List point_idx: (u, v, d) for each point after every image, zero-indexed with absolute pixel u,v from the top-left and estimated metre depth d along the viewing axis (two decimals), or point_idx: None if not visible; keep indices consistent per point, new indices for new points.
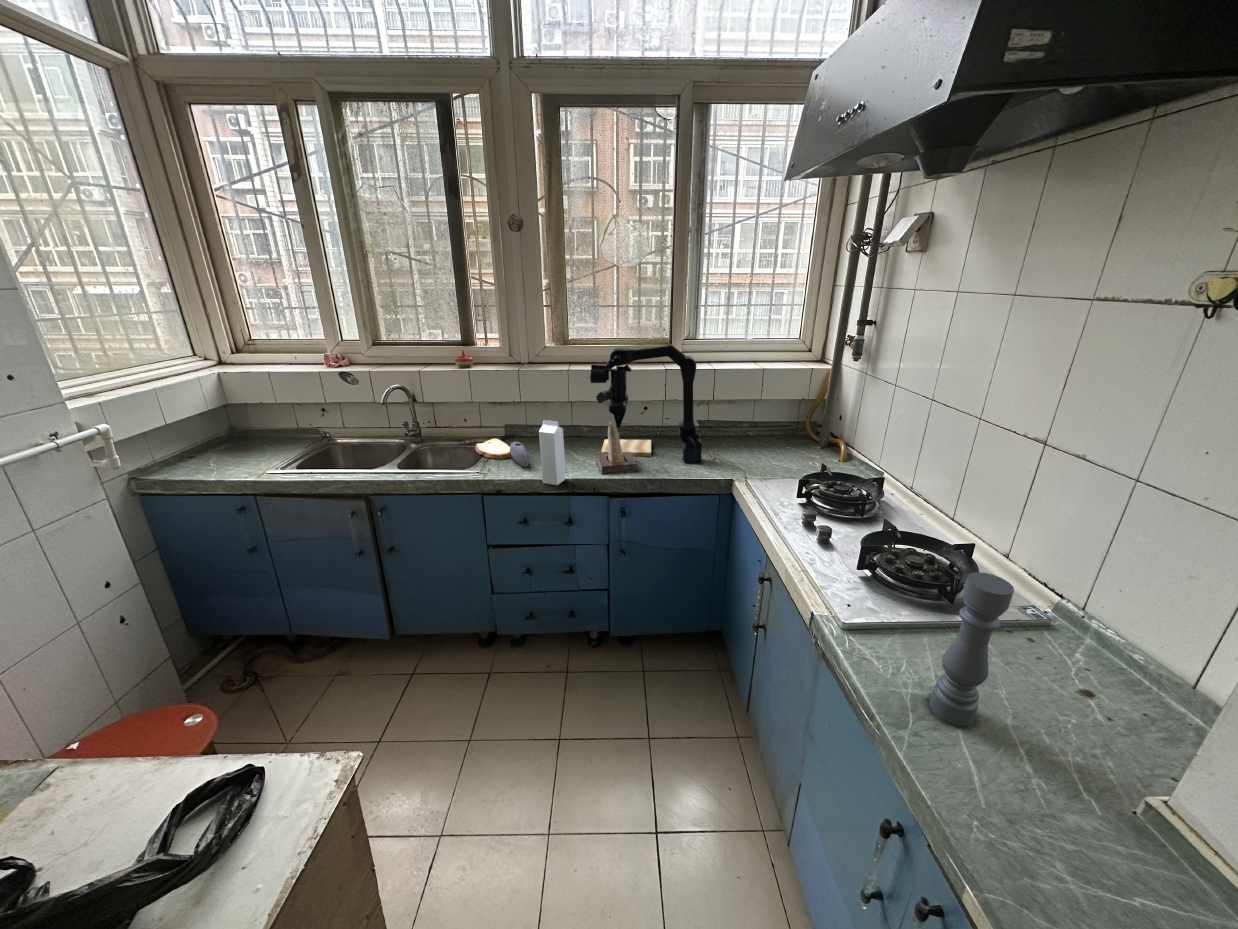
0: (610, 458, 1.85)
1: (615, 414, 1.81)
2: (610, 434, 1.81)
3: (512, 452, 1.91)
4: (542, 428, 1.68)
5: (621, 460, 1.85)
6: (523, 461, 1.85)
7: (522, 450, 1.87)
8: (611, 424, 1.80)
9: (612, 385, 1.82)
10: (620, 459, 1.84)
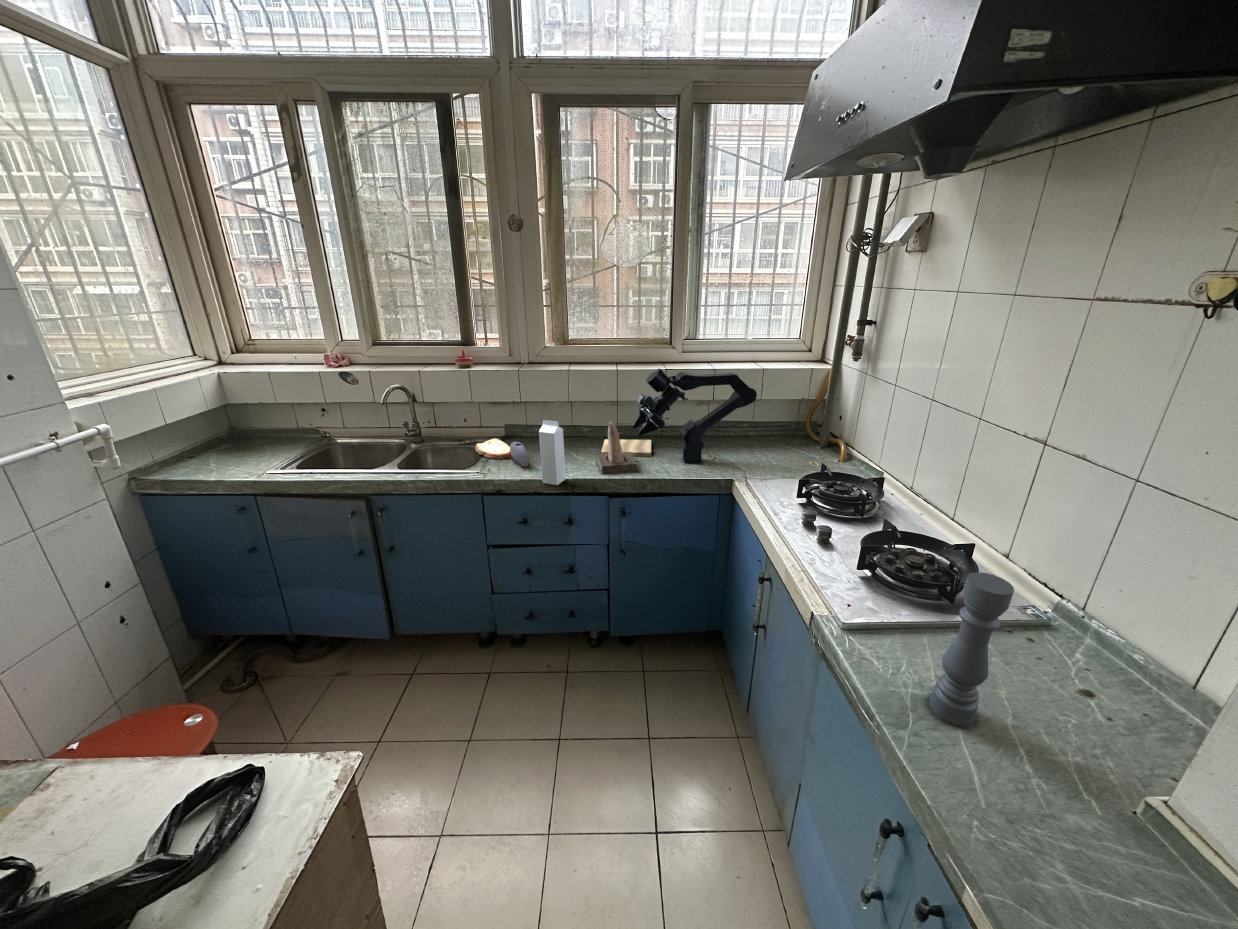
0: (610, 458, 1.85)
1: (648, 424, 1.77)
2: (610, 434, 1.81)
3: (512, 452, 1.91)
4: (542, 428, 1.68)
5: (621, 460, 1.85)
6: (523, 461, 1.85)
7: (522, 450, 1.87)
8: (611, 424, 1.80)
9: (661, 398, 1.80)
10: (620, 459, 1.84)
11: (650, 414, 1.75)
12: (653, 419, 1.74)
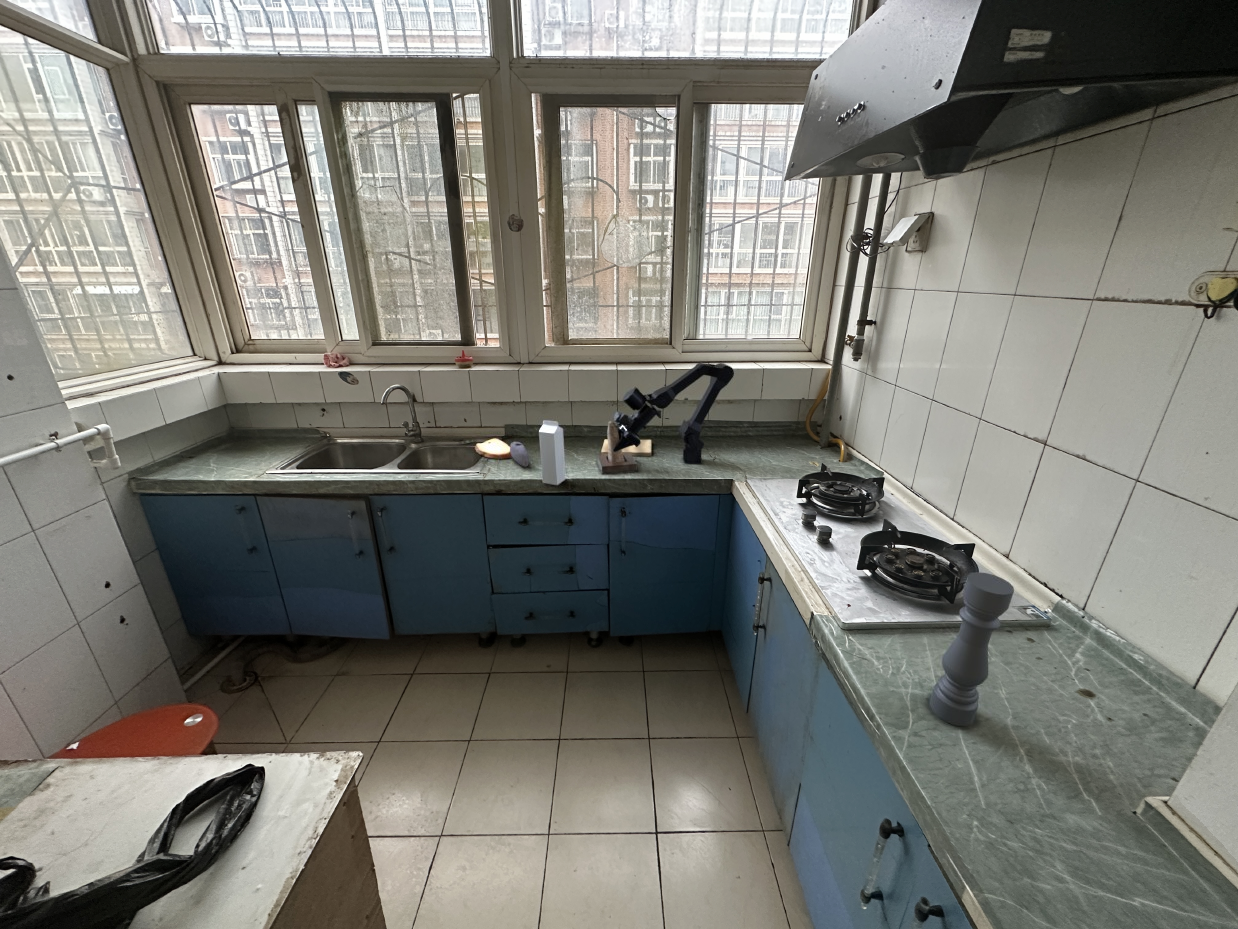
0: (610, 458, 1.85)
1: (622, 440, 1.80)
2: (610, 433, 1.82)
3: (512, 452, 1.91)
4: (542, 428, 1.68)
5: (621, 460, 1.85)
6: (523, 461, 1.85)
7: (522, 450, 1.87)
8: (610, 423, 1.81)
9: (637, 416, 1.80)
10: (620, 458, 1.84)
11: (626, 432, 1.76)
12: (629, 437, 1.75)
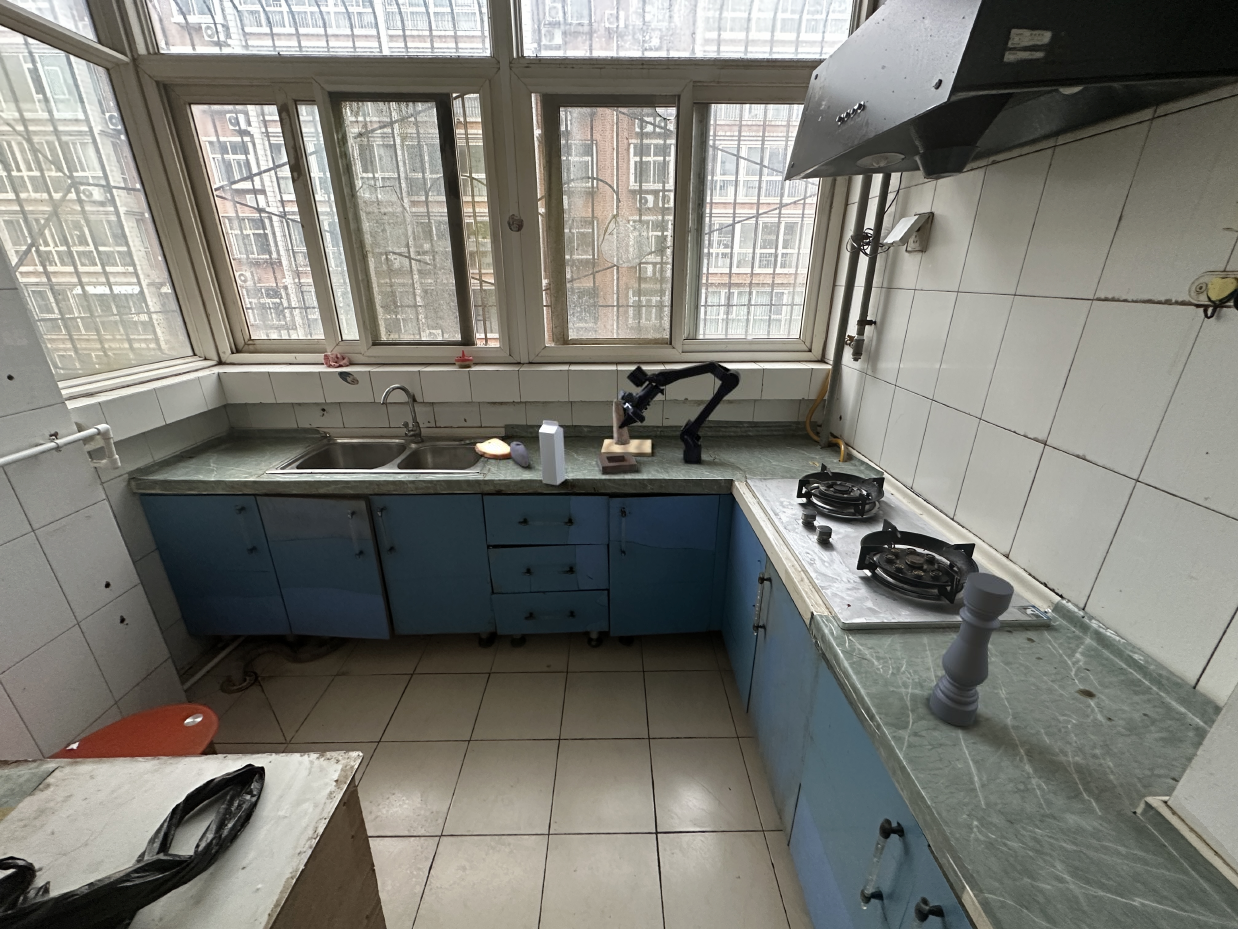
0: (615, 435, 1.91)
1: (627, 417, 1.86)
2: (615, 411, 1.87)
3: (512, 452, 1.91)
4: (542, 428, 1.68)
5: (626, 437, 1.90)
6: (523, 461, 1.85)
7: (522, 450, 1.87)
8: (616, 401, 1.86)
9: (642, 394, 1.86)
10: (625, 436, 1.90)
11: (631, 409, 1.81)
12: (634, 414, 1.80)
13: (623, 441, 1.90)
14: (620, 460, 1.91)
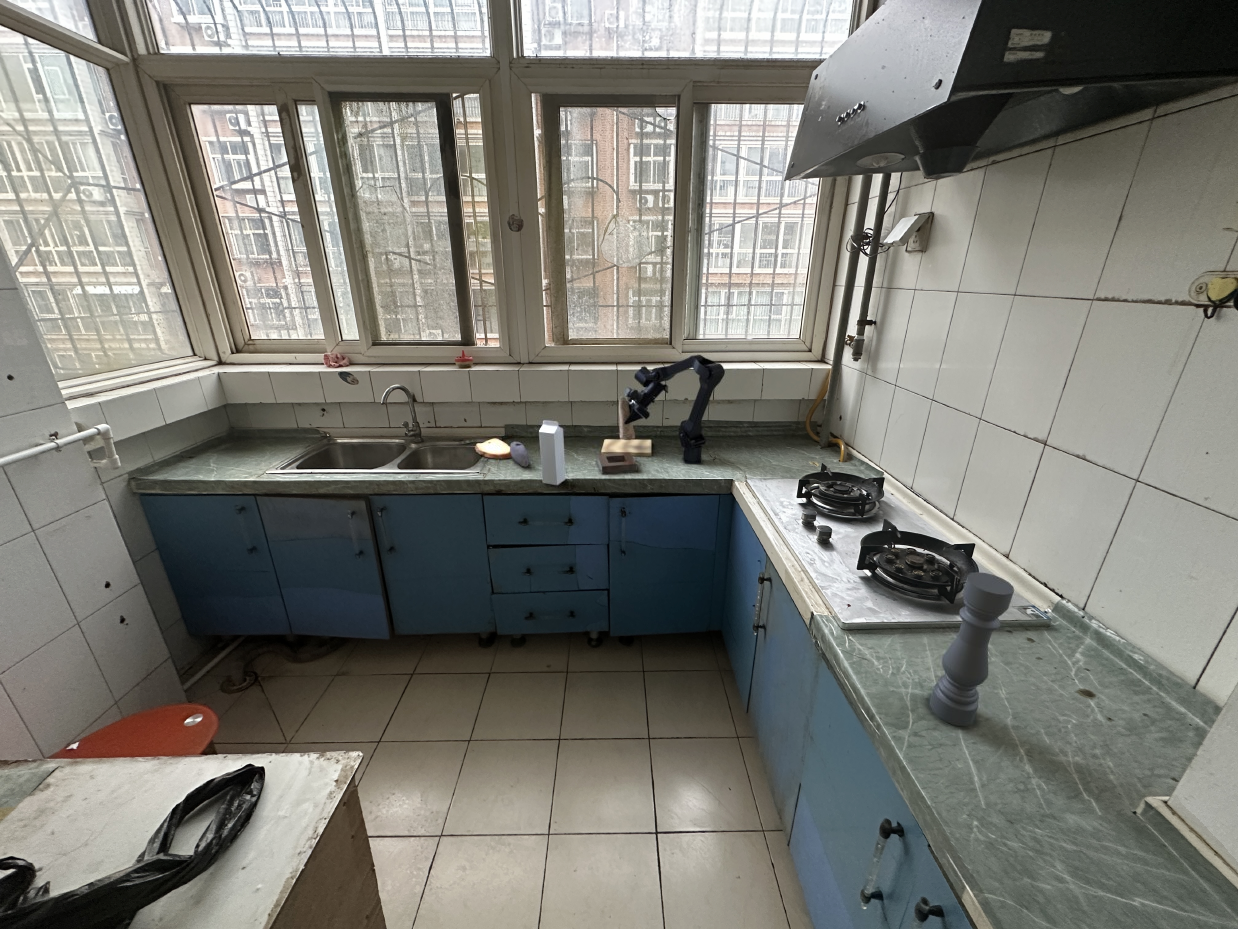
0: (621, 430, 2.01)
1: (633, 413, 1.96)
2: (621, 408, 1.97)
3: (512, 452, 1.91)
4: (542, 428, 1.68)
5: (631, 432, 2.01)
6: (523, 461, 1.85)
7: (522, 450, 1.87)
8: (622, 398, 1.97)
9: (646, 392, 1.96)
10: (630, 431, 2.00)
11: (636, 406, 1.92)
12: (639, 410, 1.90)
13: (628, 436, 2.00)
14: (620, 460, 1.91)
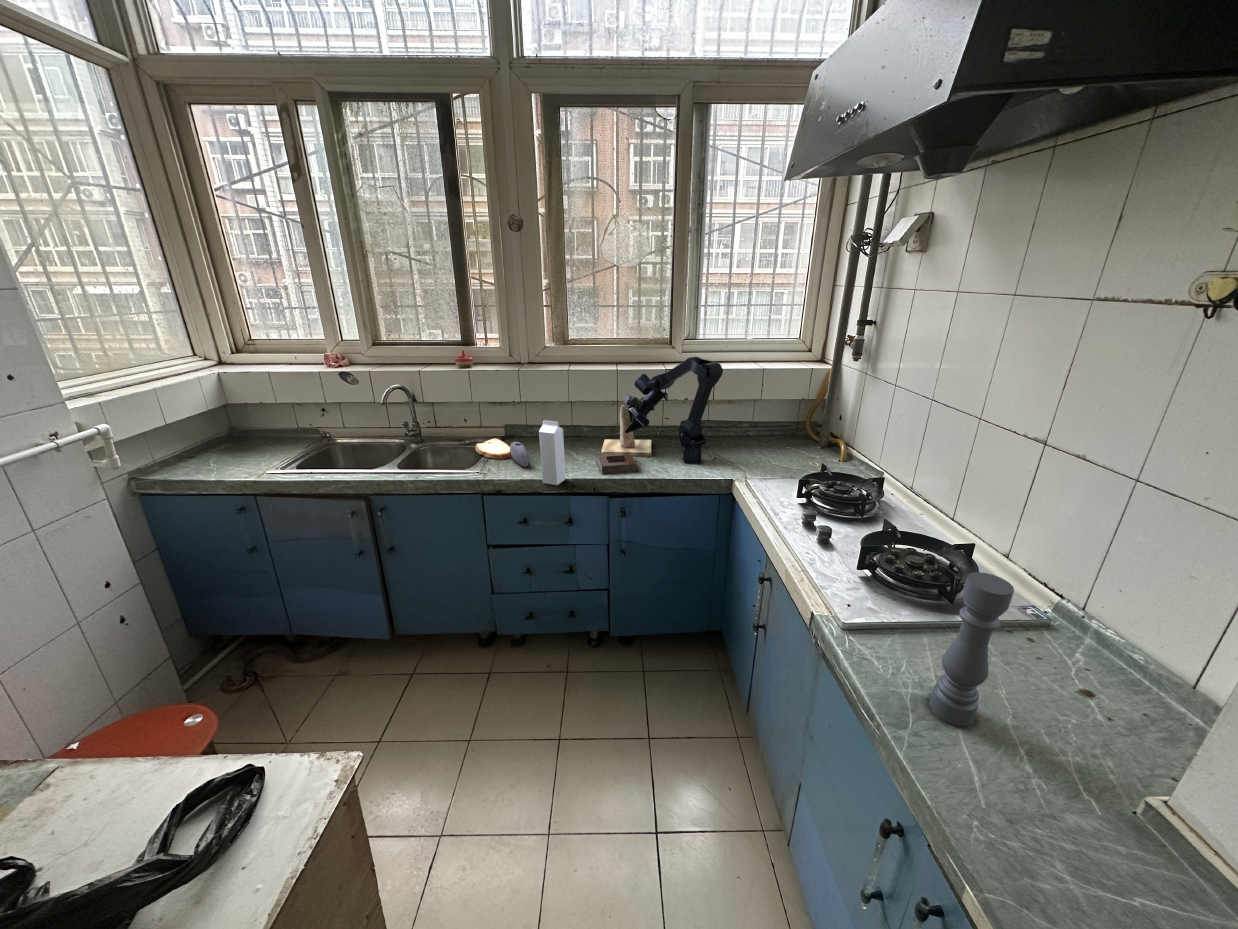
0: (622, 438, 2.02)
1: (634, 422, 1.95)
2: (622, 416, 1.98)
3: (512, 452, 1.91)
4: (542, 428, 1.68)
5: (632, 440, 2.02)
6: (523, 461, 1.85)
7: (522, 450, 1.87)
8: (623, 407, 1.97)
9: (646, 399, 1.97)
10: (631, 439, 2.01)
11: (636, 413, 1.93)
12: (638, 418, 1.92)
13: (628, 444, 2.01)
14: (620, 460, 1.91)
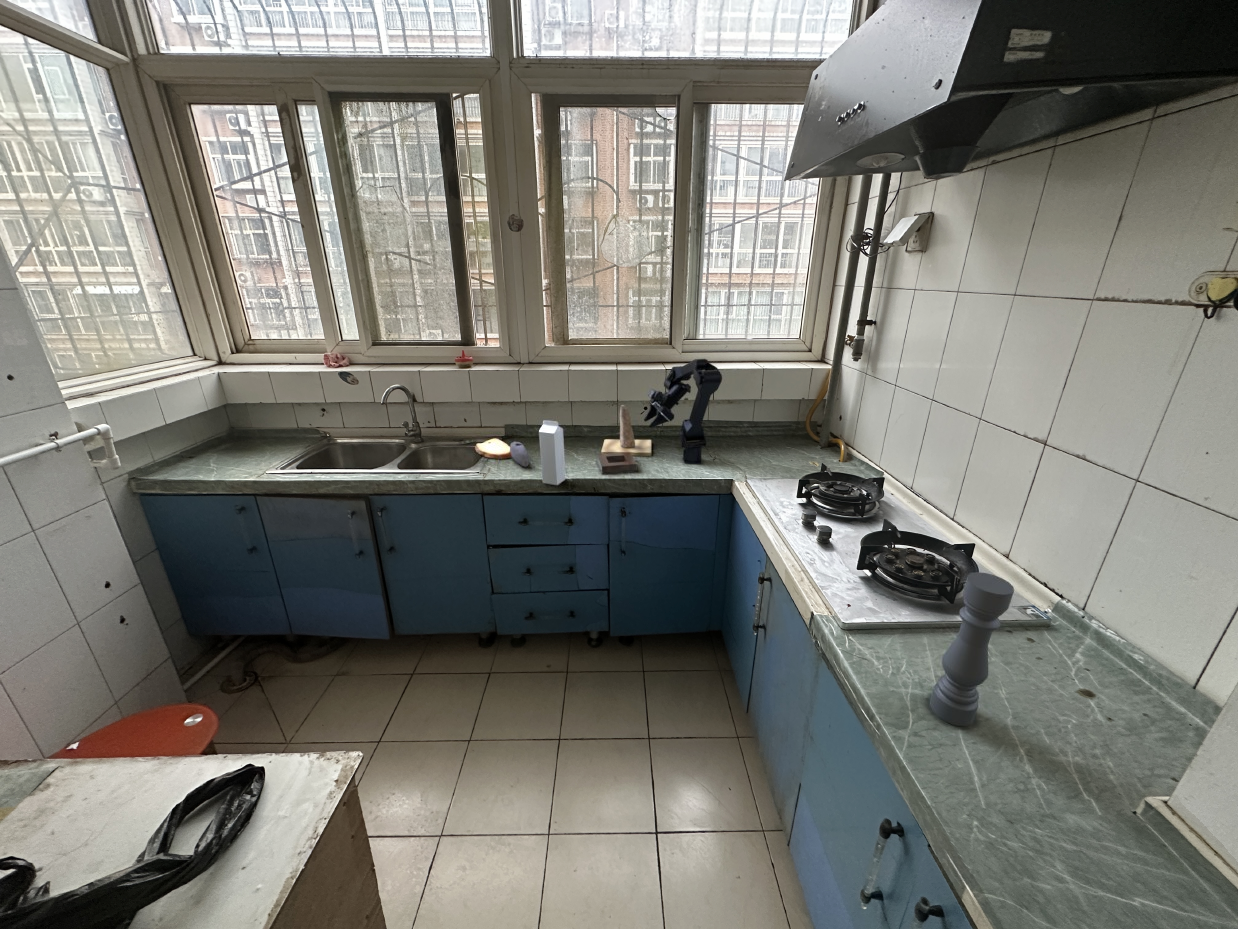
0: (622, 438, 2.02)
1: (658, 416, 1.93)
2: (622, 416, 1.98)
3: (512, 452, 1.91)
4: (542, 428, 1.68)
5: (632, 440, 2.02)
6: (523, 461, 1.85)
7: (522, 450, 1.87)
8: (623, 407, 1.97)
9: (670, 393, 1.96)
10: (631, 439, 2.01)
11: (661, 408, 1.91)
12: (663, 412, 1.90)
13: (628, 444, 2.01)
14: (620, 460, 1.91)
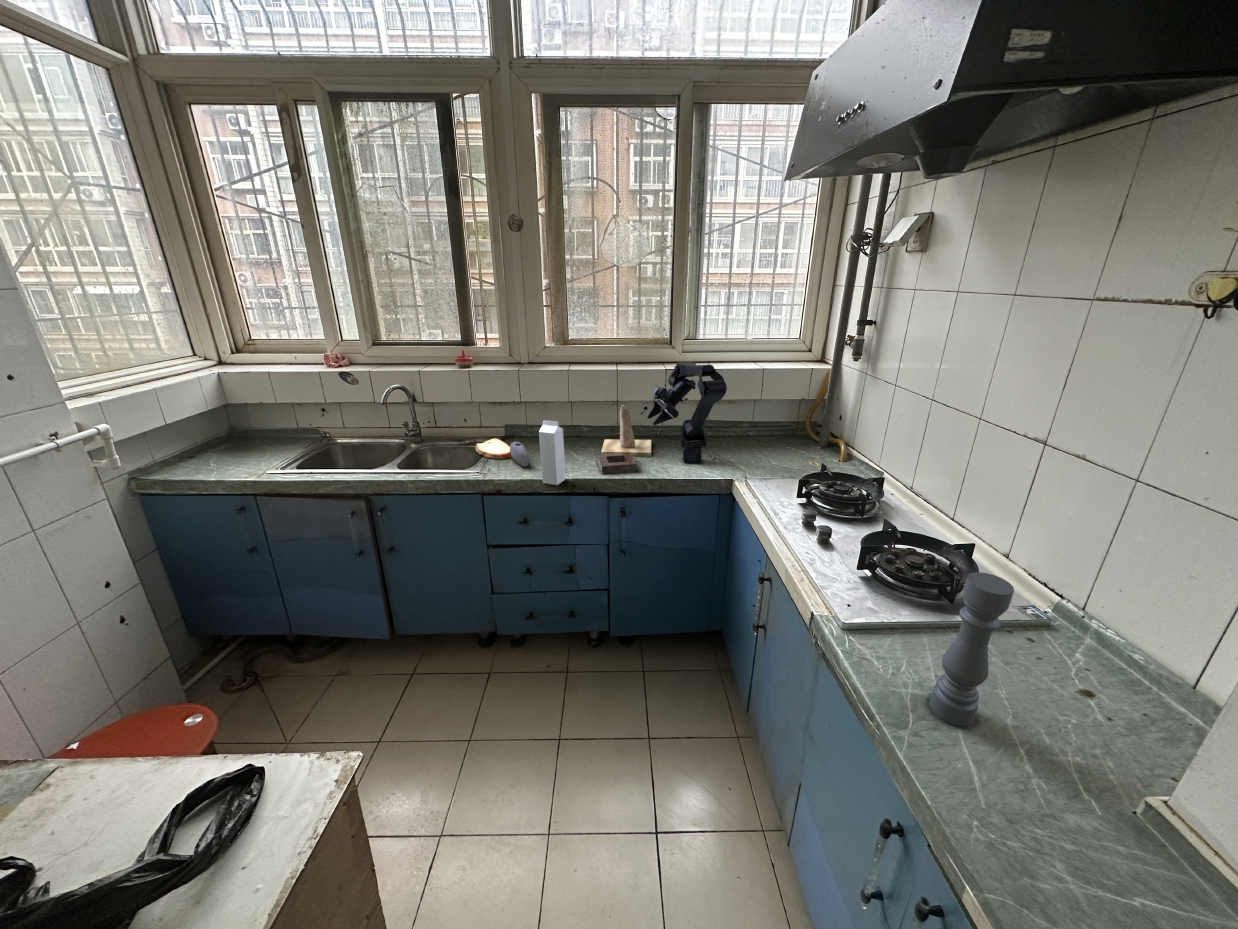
0: (622, 438, 2.02)
1: (662, 414, 1.89)
2: (622, 416, 1.98)
3: (512, 452, 1.91)
4: (542, 428, 1.68)
5: (632, 440, 2.02)
6: (523, 461, 1.85)
7: (522, 450, 1.87)
8: (623, 407, 1.97)
9: (675, 390, 1.91)
10: (631, 439, 2.01)
11: (665, 404, 1.87)
12: (668, 409, 1.85)
13: (628, 444, 2.01)
14: (620, 460, 1.91)
